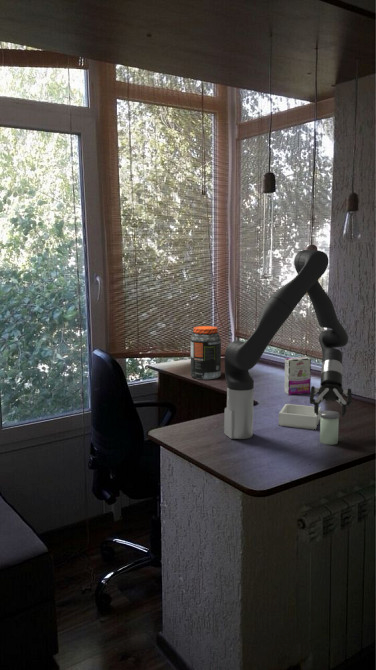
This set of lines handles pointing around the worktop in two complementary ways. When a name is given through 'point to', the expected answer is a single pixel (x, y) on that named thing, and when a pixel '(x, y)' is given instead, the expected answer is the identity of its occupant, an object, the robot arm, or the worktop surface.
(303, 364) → the candy bar box
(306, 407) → the tray
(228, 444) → the worktop surface
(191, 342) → the supplement tub
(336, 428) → the jar
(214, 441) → the worktop surface
